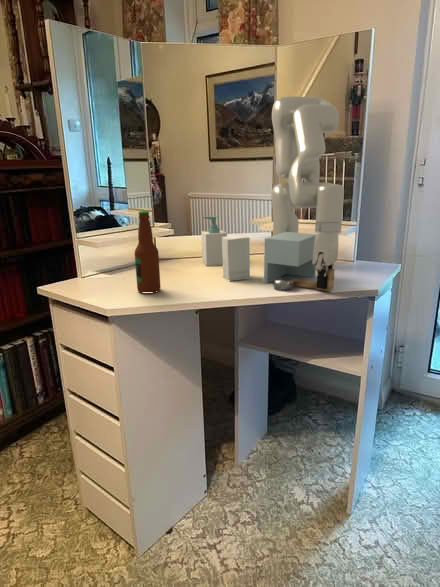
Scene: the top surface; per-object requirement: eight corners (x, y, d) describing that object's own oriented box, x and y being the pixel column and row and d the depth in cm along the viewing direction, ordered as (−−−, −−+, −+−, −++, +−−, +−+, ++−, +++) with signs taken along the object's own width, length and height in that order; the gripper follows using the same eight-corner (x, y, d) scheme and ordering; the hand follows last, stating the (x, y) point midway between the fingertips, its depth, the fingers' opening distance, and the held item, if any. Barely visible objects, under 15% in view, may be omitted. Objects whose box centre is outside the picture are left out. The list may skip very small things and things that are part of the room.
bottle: (147, 286, 134) (142, 209, 127) (165, 289, 130) (160, 210, 123) (132, 292, 128) (126, 212, 121) (150, 295, 124) (145, 213, 117)
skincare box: (243, 275, 146) (243, 234, 142) (250, 279, 141) (250, 236, 137) (221, 277, 144) (221, 235, 139) (228, 282, 138) (227, 238, 134)
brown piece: (272, 283, 134) (272, 265, 132) (278, 280, 137) (278, 263, 135) (329, 291, 123) (330, 272, 122) (333, 287, 127) (334, 269, 125)
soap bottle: (201, 261, 169) (200, 215, 163) (222, 260, 171) (221, 214, 165) (206, 266, 161) (204, 217, 155) (227, 264, 163) (227, 216, 157)
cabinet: (264, 282, 136) (264, 238, 132) (284, 272, 149) (285, 231, 145) (297, 287, 130) (299, 241, 126) (315, 276, 143) (317, 234, 138)
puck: (270, 289, 129) (270, 280, 128) (279, 285, 134) (279, 276, 133) (288, 292, 126) (288, 283, 125) (296, 287, 130) (296, 279, 129)
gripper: (325, 223, 129) (322, 278, 135) (305, 230, 116) (302, 291, 121) (349, 224, 125) (344, 281, 131) (331, 231, 112) (327, 295, 117)
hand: (324, 285), depth 126 cm, fingers closed on brown piece, 4 cm apart
